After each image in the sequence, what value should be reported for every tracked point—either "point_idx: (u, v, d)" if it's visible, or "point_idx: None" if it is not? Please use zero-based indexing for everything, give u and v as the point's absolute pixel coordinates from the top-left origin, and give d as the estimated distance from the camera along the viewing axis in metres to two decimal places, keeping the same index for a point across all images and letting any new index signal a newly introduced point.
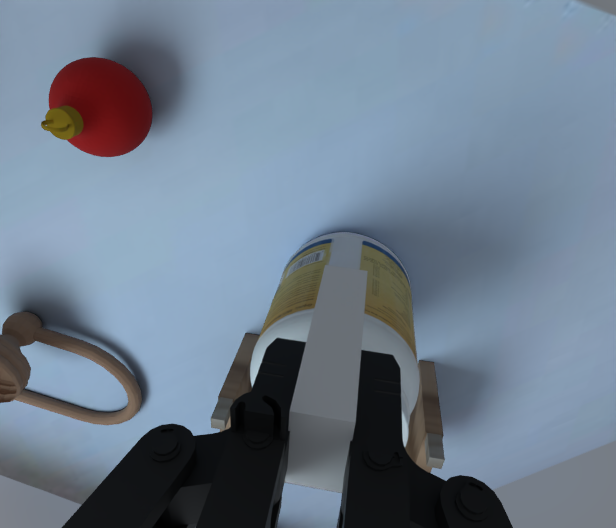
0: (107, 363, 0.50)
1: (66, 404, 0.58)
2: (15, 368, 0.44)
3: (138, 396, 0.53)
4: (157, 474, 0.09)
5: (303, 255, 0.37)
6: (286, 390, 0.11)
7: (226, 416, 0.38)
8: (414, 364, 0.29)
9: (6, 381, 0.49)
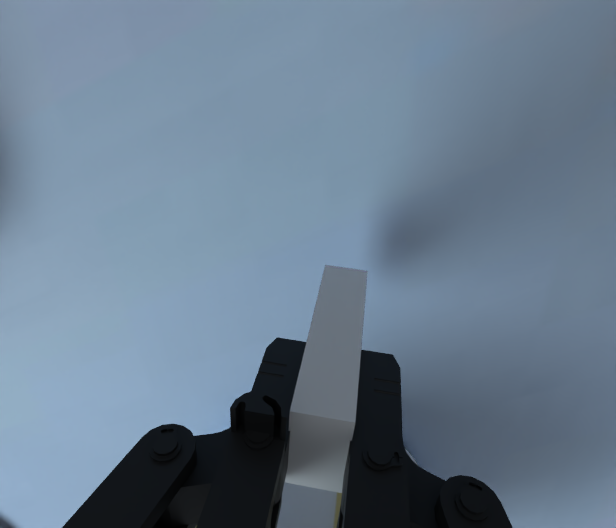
0: None
1: None
2: None
3: None
4: (157, 474, 0.09)
5: None
6: (286, 390, 0.11)
7: None
8: None
9: None
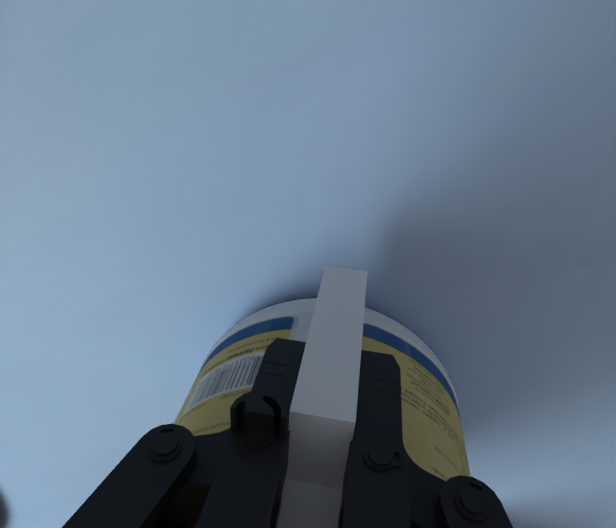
0: None
1: None
2: None
3: None
4: (157, 474, 0.09)
5: (230, 356, 0.17)
6: (286, 390, 0.11)
7: None
8: None
9: None
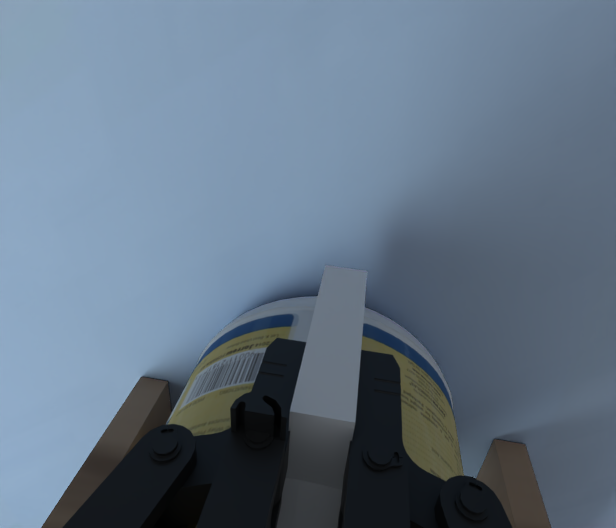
0: None
1: None
2: None
3: None
4: (157, 474, 0.09)
5: (228, 351, 0.17)
6: (286, 390, 0.11)
7: None
8: None
9: None
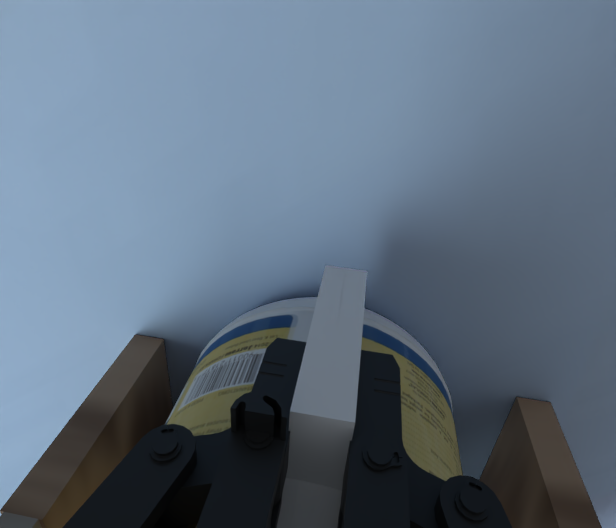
0: None
1: None
2: None
3: None
4: (157, 474, 0.09)
5: (227, 352, 0.17)
6: (286, 390, 0.11)
7: None
8: None
9: None
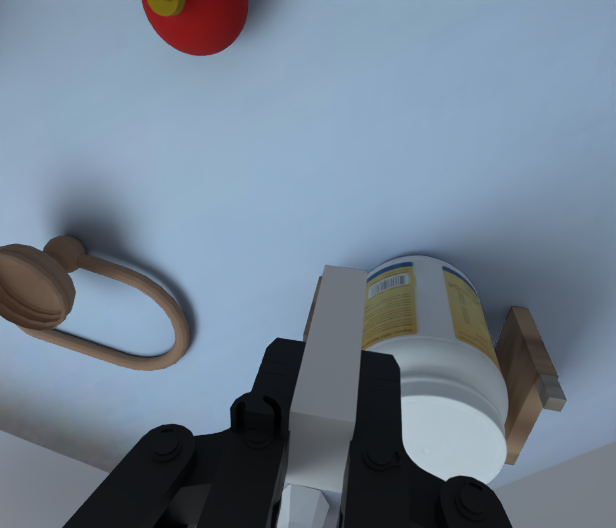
0: (156, 293, 0.45)
1: (104, 348, 0.54)
2: (61, 287, 0.40)
3: (186, 335, 0.49)
4: (157, 474, 0.09)
5: (385, 276, 0.38)
6: (286, 390, 0.11)
7: None
8: (506, 393, 0.31)
9: (46, 310, 0.44)
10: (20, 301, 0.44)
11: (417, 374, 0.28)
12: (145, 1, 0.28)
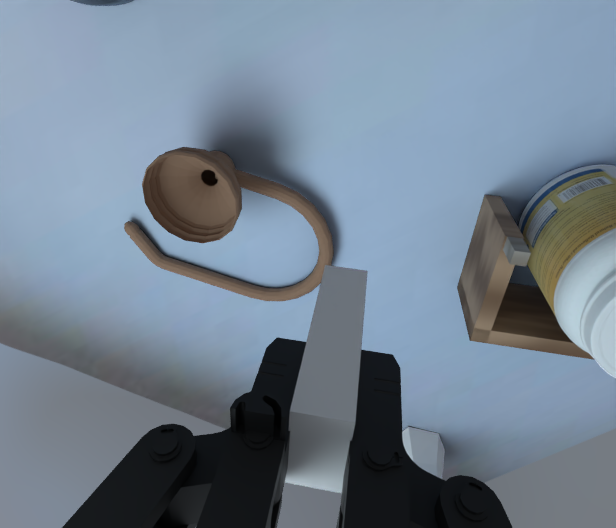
0: (311, 210, 0.44)
1: (233, 279, 0.52)
2: (236, 192, 0.38)
3: (331, 257, 0.48)
4: (157, 474, 0.09)
5: (575, 182, 0.38)
6: (286, 390, 0.11)
7: None
8: None
9: (201, 225, 0.43)
10: (176, 216, 0.43)
11: None
12: None
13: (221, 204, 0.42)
